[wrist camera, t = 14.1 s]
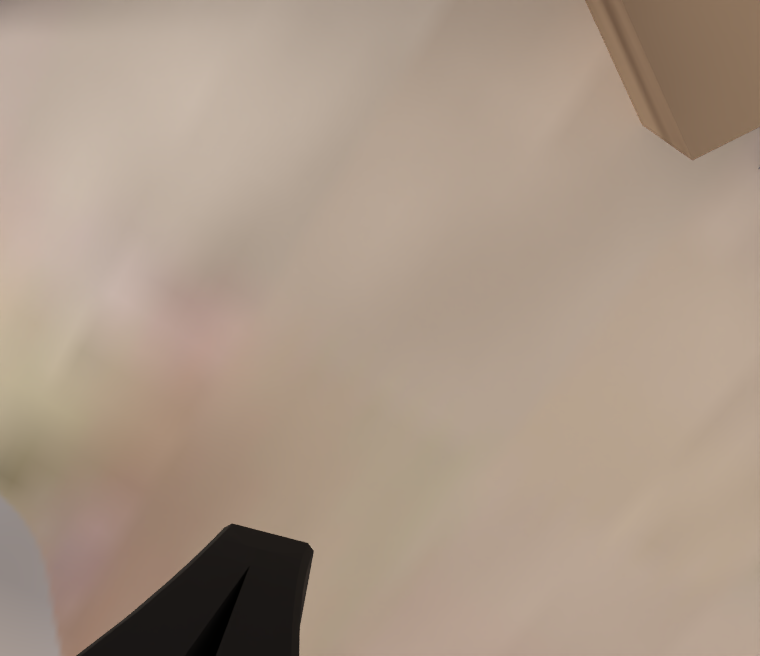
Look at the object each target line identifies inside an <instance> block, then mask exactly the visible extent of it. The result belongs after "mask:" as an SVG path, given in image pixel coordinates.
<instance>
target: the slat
mask: <svg viewBox="0 0 760 656" xmlns="http://www.w3.org/2000/svg"><path fill="white" fill-rule="evenodd" d="M585 1H586V3H587V5H588V7H589V10H590V12H591V14H592V16H593V18H594V21H595V23H596V25H597V27H598V29H599V32H600V34H601V36H602V38H603V40H604V42H605V45H606V47H607V49H608V51H609V53H610V56H611V58H612V60H613V62H614V64H615V67H616V69H617V71H618V73H619V75H620V77H621V80H622V82H623V84H624V86H625V88H626V91H627V93H628V95H629V97H630V99H631V102H632V104H633V106H634V108H635V110H636V113H637V115H638V117H639V119H640V121H641V123H642V125H643V126H644V127H646V128H647V129H649V130H650V131H651V132H653V133H654V134H656V135H657V136H659V137H660V138H661V139H663V140H664V141H666V142H667V143H669V144H670V145H671V146H673V147H674V148H676V149H677V150H679V151H680V152H681V153H683V154H684V155H686V156H687V157H688V158H690V159H691V160H694V159H696V158H698V157H700V156H702V155H704V154H706V153H708V152H710V151H712V150H714V149H716V148H718V147H720V146H722V145H724V144H726V143H728V142H730V141H732V140H734V139H736V138H738V137H740V136H742V135H744V134H746V133H748V132H750V131H752V130H754V129H756V128H758V127H760V0H585Z"/></svg>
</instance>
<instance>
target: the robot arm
mask: <svg viewBox="0 0 760 656" xmlns="http://www.w3.org/2000/svg"><path fill="white" fill-rule="evenodd" d="M313 552H314V551H313V549H312V548H311V547H310V545H309V544H308V543H305V542H301V541H297V540H294V539H290V538H286V537H282V536H278V535H274V534H271V533H267V532H263V531H259V530H255V529H251V528H247V527H244V526H240V525H236V524H230V525H228V526H227V527H225V528H224V529H223V530H222V531H221V532H220V533H219V534H218V535H217V536H216V537H215V538H214V539H213V540H212V541H211V542H210V543H209V544H208V545H207V546H206V547H205V548H204V549H203V550H202V551H201V552H200V553H199V554H198V555H196V556H195V557H194V558H193V559H192V560H191V561H190V562H189V563H188V564H187V565H186V566H185V567H184V568H183V569H181V570H180V571H179V572H178V573H177V574H176V575H175V576H174V577H173V578H172V579H170V580H169V581H168V582H167V583H166V584H165V585H164V586H162V587H161V588H160V589H159V590H158V591H157V592H155V593H154V594H153V595H152V596H151V597H150V598H148V599H147V600H146V601H145V602H144V603H143V604H141V605H140V606H139V607H138V608H137V609H136V610H134V611H133V612H132V613H131V614H130V615H128V616H127V617H126V618H125V619H123V620H122V621H121V622H120V623H118V624H117V625H116V626H114V627H113V628H112V629H110V630H109V631H108V632H107V633H105V634H104V635H103V636H101V637H100V638H99V639H97V640H96V641H95V642H94V643H92V644H91V645H90V646H88V647H87V648H86V649H84V650H83V651H82V652H81V653H79V654H78V655H77V656H299V632H300V623H301V617H302V612H303V606H304V601H305V596H306V590H307V585H308V579H309V574H310V569H311V563H312V558H313Z"/></svg>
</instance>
